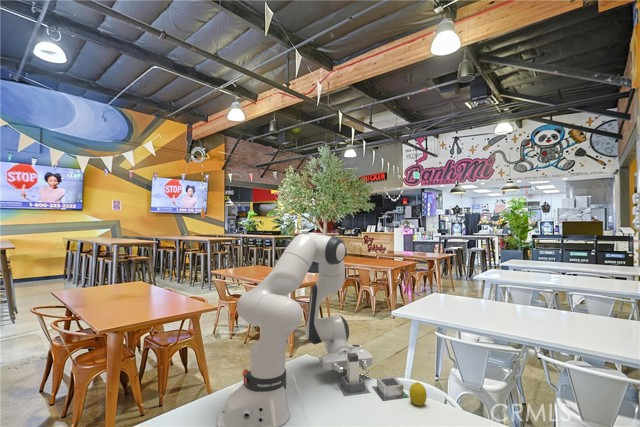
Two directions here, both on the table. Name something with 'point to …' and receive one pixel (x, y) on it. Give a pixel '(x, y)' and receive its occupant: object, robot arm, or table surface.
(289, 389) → the table surface
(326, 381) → the table surface
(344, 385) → the holster
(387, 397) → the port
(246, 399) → the robot arm
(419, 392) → the lemon
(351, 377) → the plug
